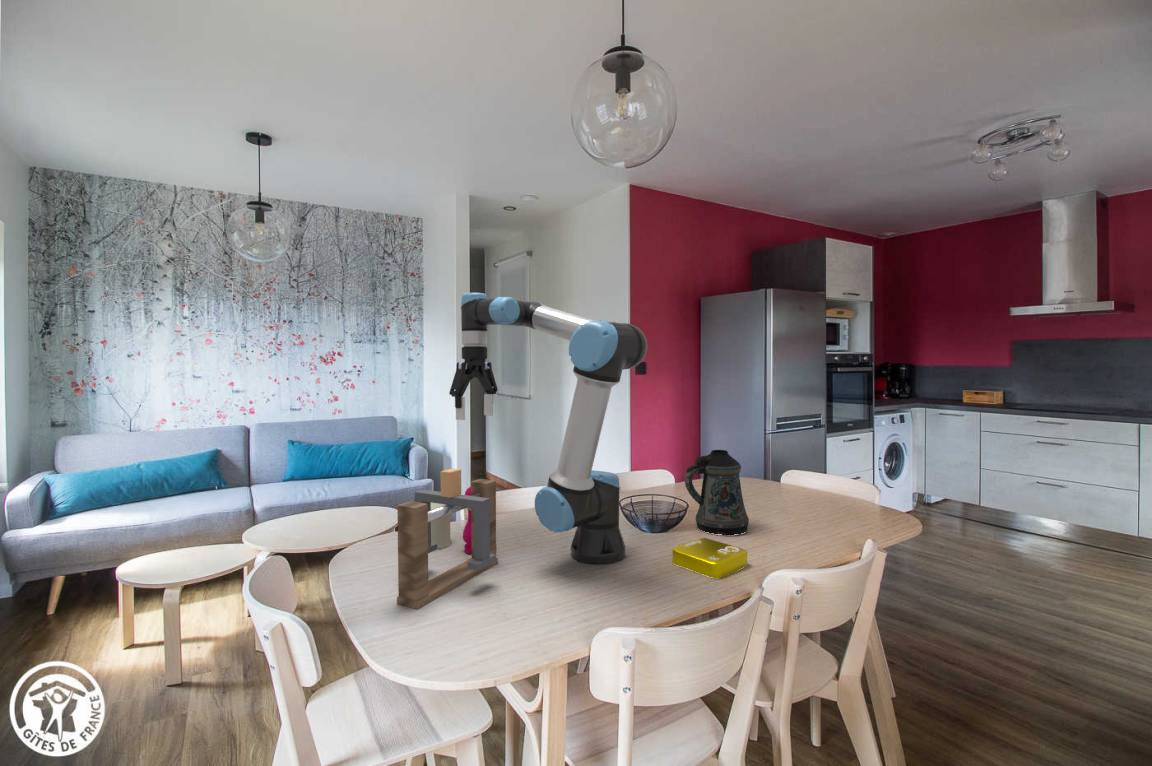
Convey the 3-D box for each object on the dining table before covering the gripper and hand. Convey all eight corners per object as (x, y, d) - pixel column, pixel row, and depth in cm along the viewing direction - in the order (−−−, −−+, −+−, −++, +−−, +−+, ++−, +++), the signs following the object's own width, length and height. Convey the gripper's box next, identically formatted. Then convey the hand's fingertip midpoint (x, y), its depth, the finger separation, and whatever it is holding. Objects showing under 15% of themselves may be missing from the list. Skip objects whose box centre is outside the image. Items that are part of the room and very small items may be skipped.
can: (421, 539, 163) (421, 500, 163) (453, 538, 164) (452, 499, 164) (415, 550, 154) (415, 508, 154) (448, 549, 155) (448, 507, 154)
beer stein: (759, 530, 172) (760, 452, 171) (718, 542, 161) (719, 458, 160) (718, 518, 186) (719, 445, 185) (678, 527, 175) (678, 450, 174)
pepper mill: (483, 556, 149) (482, 484, 149) (458, 554, 151) (458, 482, 150) (492, 547, 156) (492, 478, 156) (468, 545, 158) (468, 477, 157)
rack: (497, 563, 144) (497, 480, 143) (417, 609, 117) (416, 508, 117) (479, 559, 147) (478, 478, 146) (396, 603, 120) (395, 505, 119)
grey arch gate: (495, 560, 130) (495, 471, 130) (478, 570, 124) (477, 477, 123) (428, 547, 140) (427, 464, 139) (408, 556, 134) (407, 469, 133)
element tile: (703, 551, 154) (703, 534, 154) (750, 566, 143) (750, 548, 143) (668, 564, 144) (669, 546, 144) (716, 581, 133) (717, 562, 133)
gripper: (488, 347, 174) (489, 413, 175) (436, 345, 152) (436, 420, 152) (508, 346, 170) (508, 414, 171) (457, 344, 148) (458, 422, 149)
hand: (474, 417), depth 162 cm, fingers open, 13 cm apart
